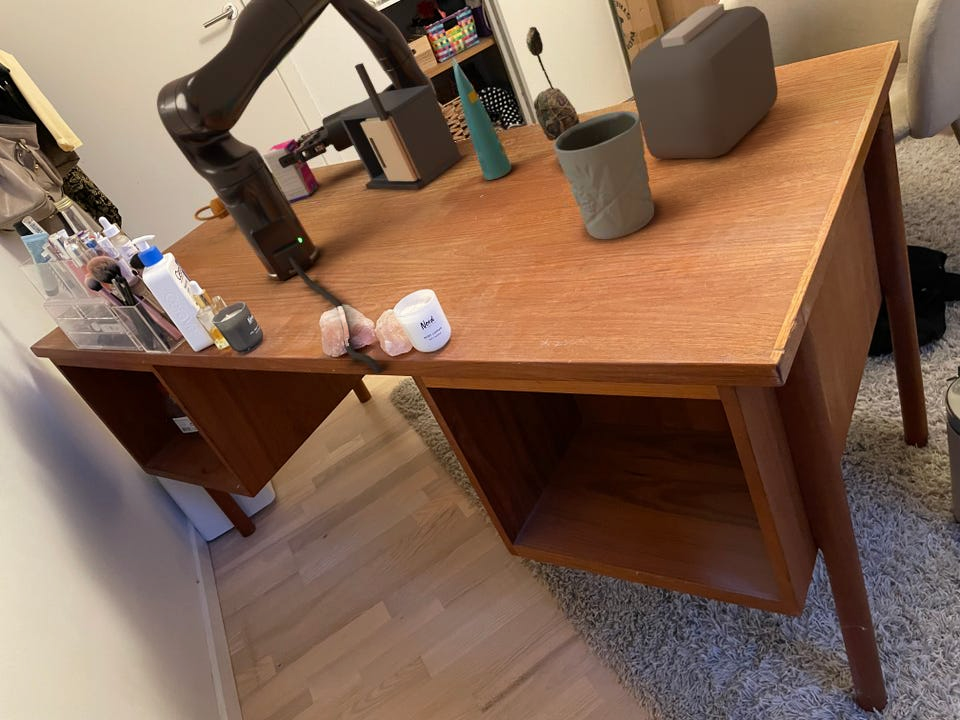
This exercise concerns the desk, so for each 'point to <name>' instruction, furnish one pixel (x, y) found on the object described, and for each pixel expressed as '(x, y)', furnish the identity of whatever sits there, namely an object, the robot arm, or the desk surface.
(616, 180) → the grey embossed cup
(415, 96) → the closet
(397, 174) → the door
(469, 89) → the teal cone
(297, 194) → the supplement box
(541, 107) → the plant with pod
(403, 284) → the desk surface
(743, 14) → the alarm clock
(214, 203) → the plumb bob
